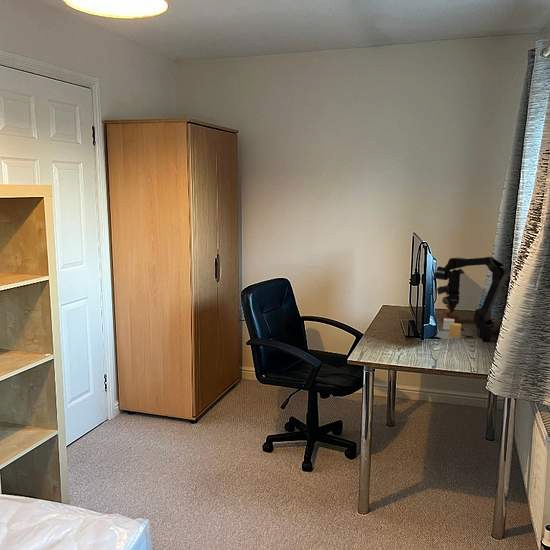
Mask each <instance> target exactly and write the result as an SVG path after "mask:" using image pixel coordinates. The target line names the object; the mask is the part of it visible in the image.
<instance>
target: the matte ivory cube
mask: <svg viewBox="0 0 550 550" xmlns="http://www.w3.org/2000/svg"><path fill="white" fill-rule="evenodd" d="M450 323H454V319H447V318H444V323H443V322H442V324H443V325H442V327H443V328H442V330H446V331H449V330H450Z"/></svg>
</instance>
